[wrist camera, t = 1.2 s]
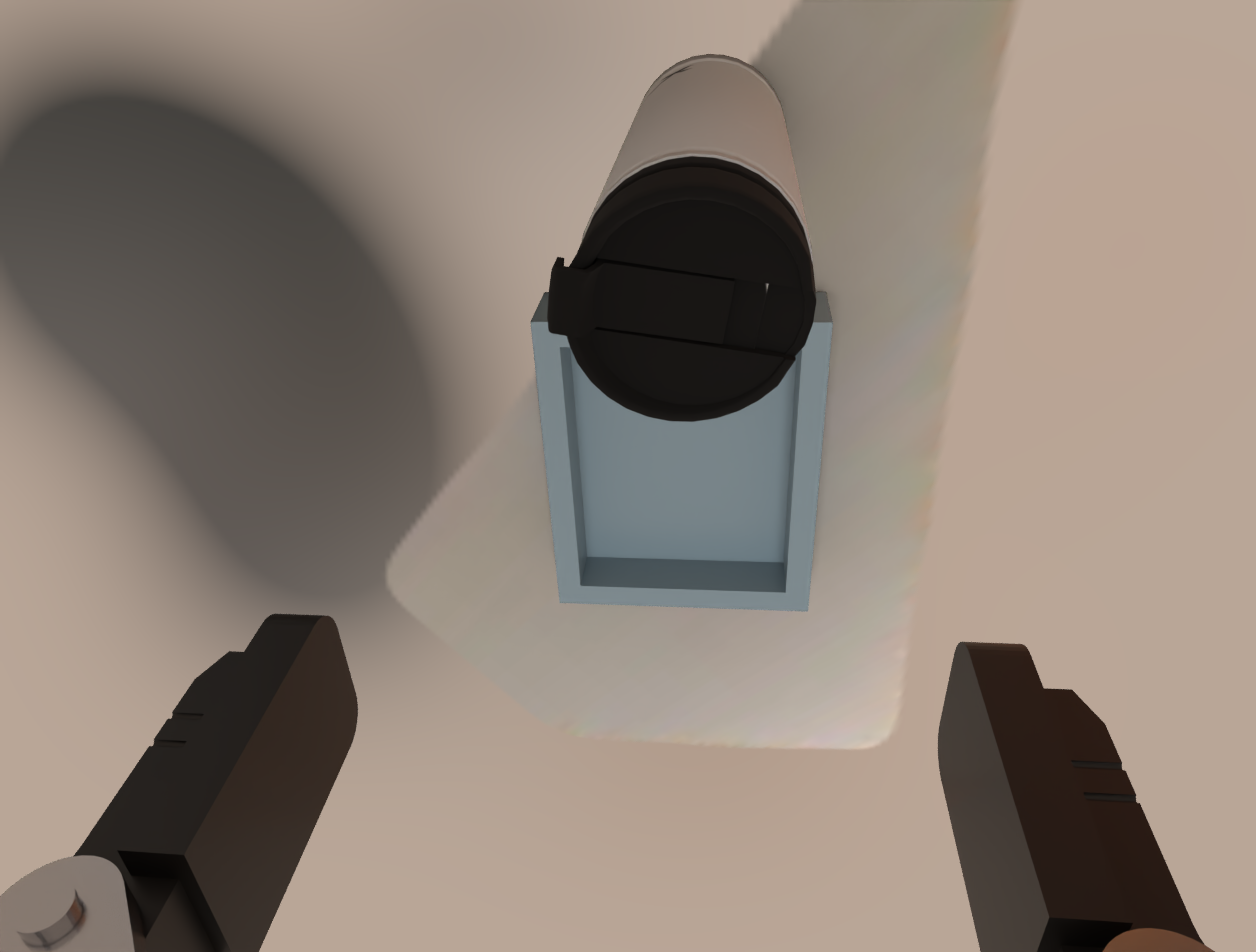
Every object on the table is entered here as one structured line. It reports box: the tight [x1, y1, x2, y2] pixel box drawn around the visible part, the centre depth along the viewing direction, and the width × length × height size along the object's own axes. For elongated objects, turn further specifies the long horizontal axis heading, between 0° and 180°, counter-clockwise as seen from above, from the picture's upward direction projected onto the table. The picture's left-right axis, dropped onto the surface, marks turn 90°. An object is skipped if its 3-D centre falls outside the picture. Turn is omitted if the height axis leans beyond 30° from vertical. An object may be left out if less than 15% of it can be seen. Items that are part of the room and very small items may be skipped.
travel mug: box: [547, 54, 816, 422], centre depth 30 cm, size 6×7×20 cm
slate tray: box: [531, 292, 833, 611], centre depth 45 cm, size 16×13×4 cm
